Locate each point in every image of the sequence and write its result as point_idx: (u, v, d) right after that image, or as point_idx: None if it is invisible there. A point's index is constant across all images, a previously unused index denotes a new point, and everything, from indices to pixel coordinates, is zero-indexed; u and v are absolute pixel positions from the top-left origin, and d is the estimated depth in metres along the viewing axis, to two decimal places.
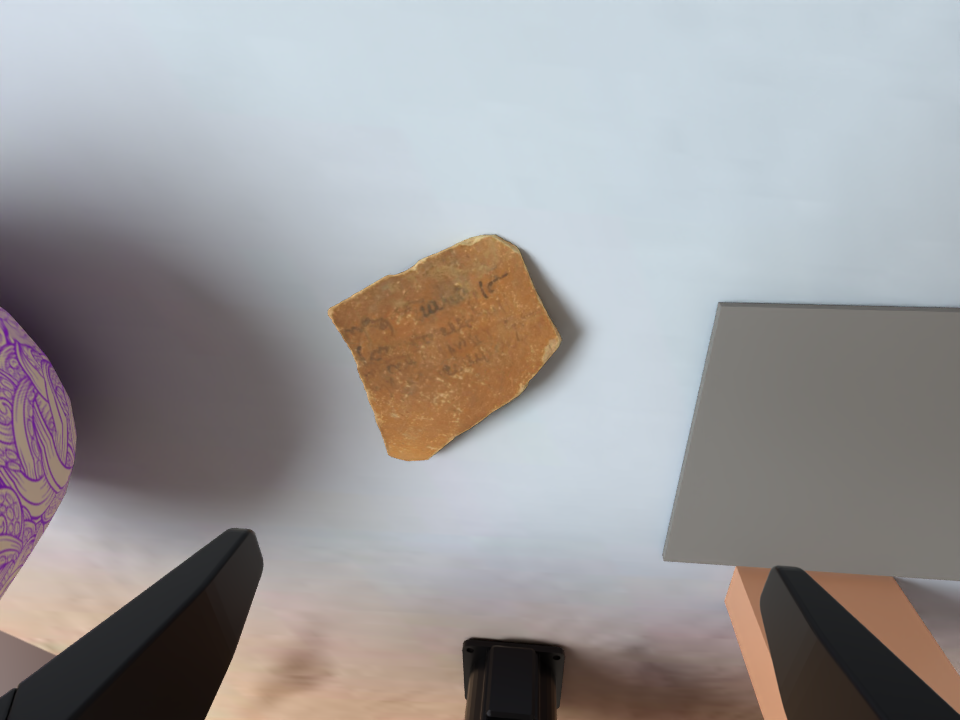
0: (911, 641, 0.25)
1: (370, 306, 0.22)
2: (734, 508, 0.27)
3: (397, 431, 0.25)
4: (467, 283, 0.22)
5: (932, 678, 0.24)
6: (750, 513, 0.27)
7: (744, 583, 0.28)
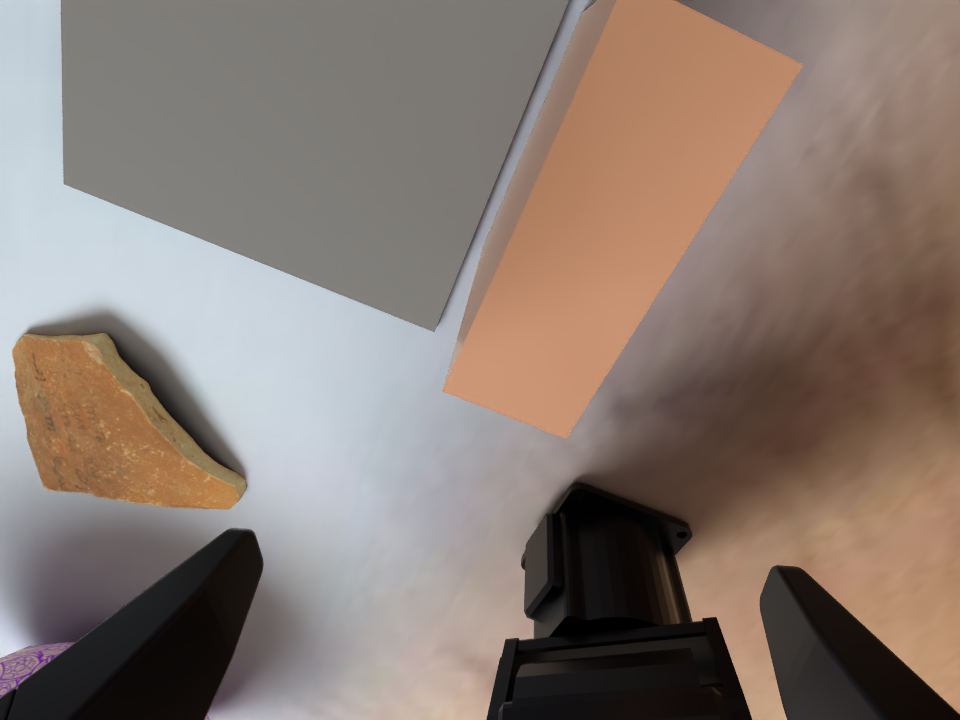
0: (570, 55, 0.14)
1: (44, 461, 0.26)
2: (355, 229, 0.20)
3: (176, 496, 0.27)
4: (36, 387, 0.25)
5: (570, 61, 0.12)
6: (369, 212, 0.20)
7: None
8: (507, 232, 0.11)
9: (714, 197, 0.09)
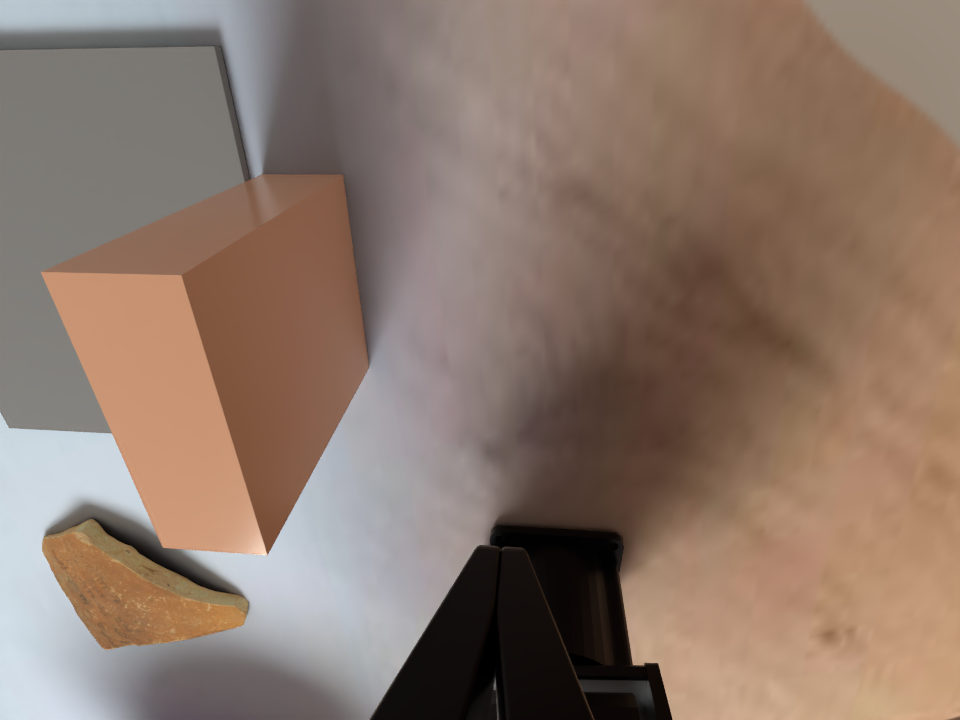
0: None
1: (94, 628, 0.32)
2: None
3: (193, 628, 0.32)
4: (64, 574, 0.31)
5: None
6: None
7: None
8: None
9: (207, 371, 0.12)
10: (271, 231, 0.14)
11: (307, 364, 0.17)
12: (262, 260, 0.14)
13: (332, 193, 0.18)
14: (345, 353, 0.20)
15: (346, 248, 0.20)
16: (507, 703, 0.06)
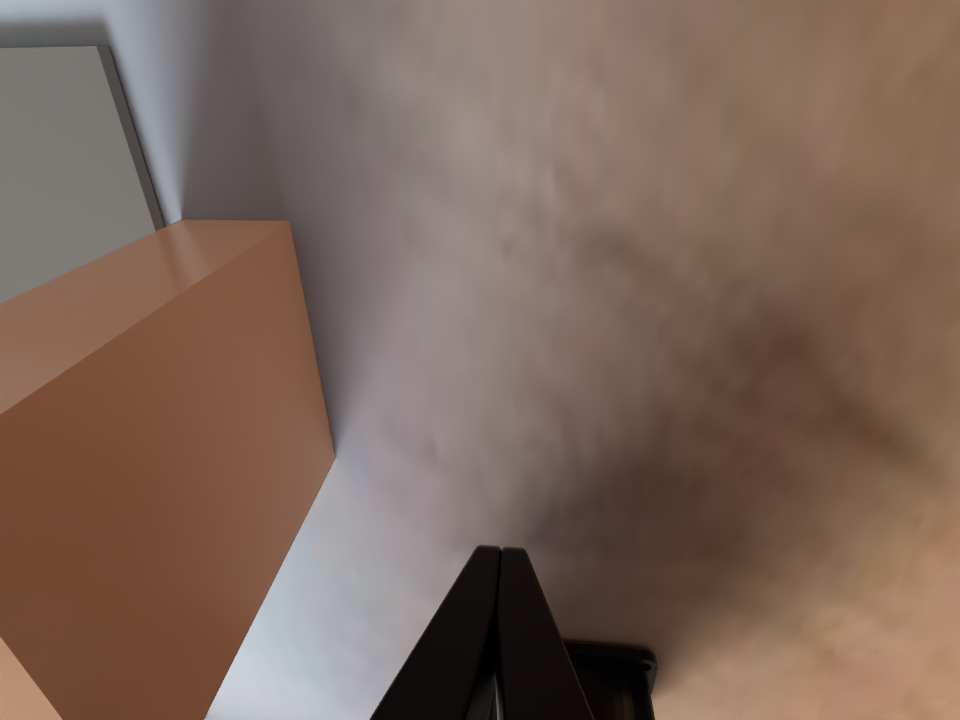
0: None
1: None
2: None
3: None
4: None
5: None
6: None
7: None
8: None
9: None
10: (146, 336, 0.09)
11: (228, 503, 0.12)
12: (125, 387, 0.09)
13: (270, 250, 0.13)
14: (296, 458, 0.15)
15: (296, 317, 0.15)
16: (507, 703, 0.06)
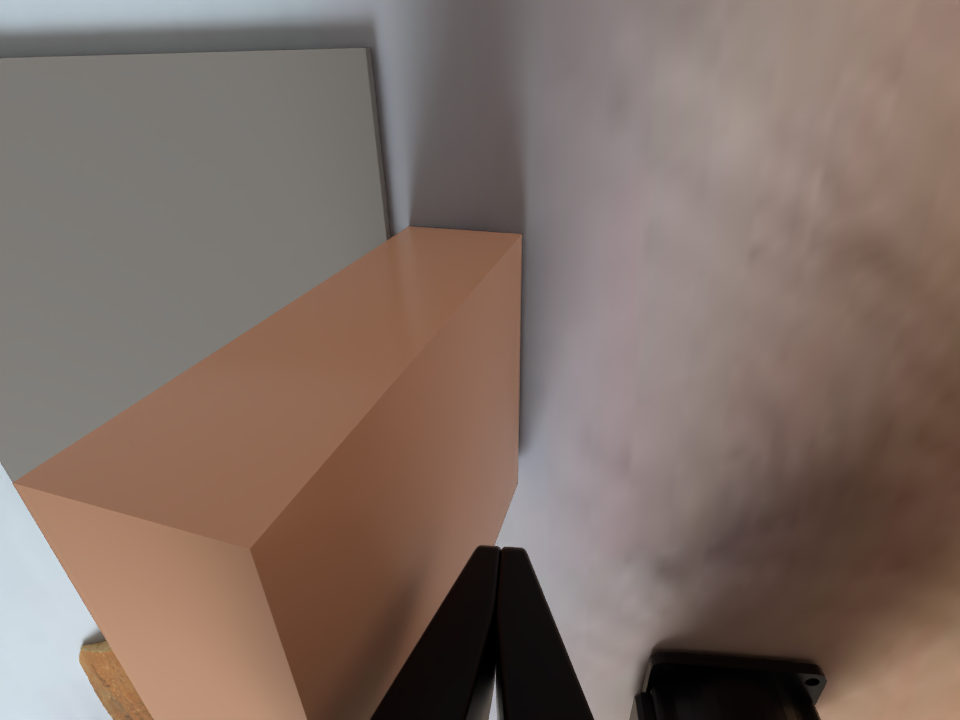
0: None
1: None
2: None
3: None
4: (107, 691, 0.25)
5: None
6: None
7: None
8: None
9: (290, 685, 0.06)
10: (425, 364, 0.08)
11: (451, 538, 0.11)
12: (406, 420, 0.08)
13: (507, 267, 0.12)
14: (496, 485, 0.14)
15: (513, 337, 0.14)
16: (507, 703, 0.06)
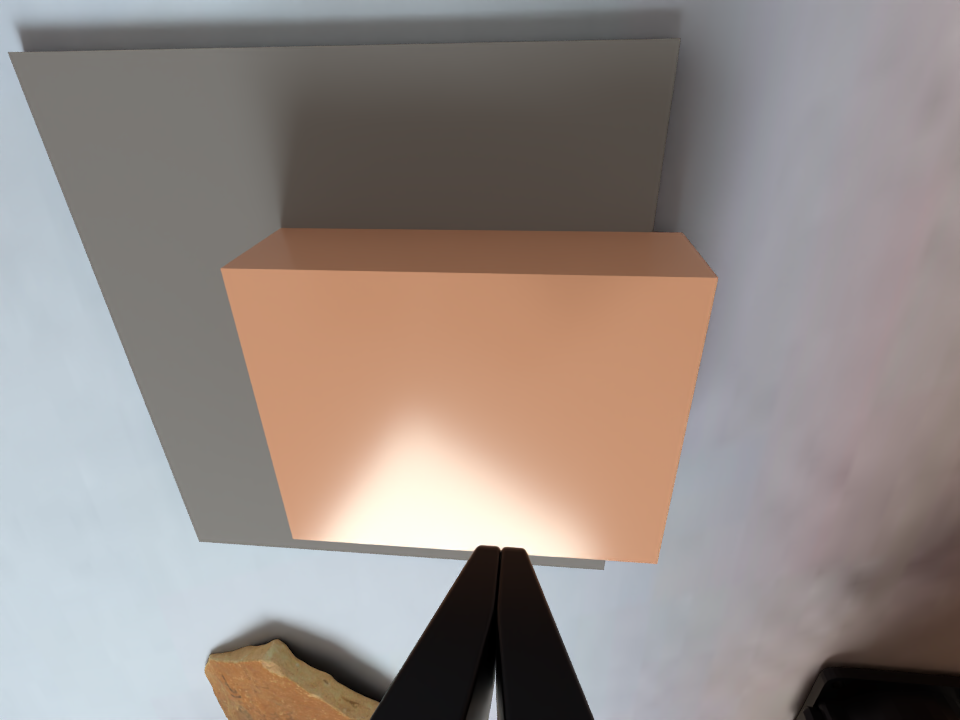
0: None
1: None
2: None
3: None
4: (235, 702, 0.25)
5: None
6: None
7: None
8: None
9: (246, 358, 0.12)
10: (407, 286, 0.11)
11: (445, 453, 0.13)
12: (372, 307, 0.11)
13: (644, 294, 0.11)
14: (571, 503, 0.13)
15: (660, 386, 0.12)
16: (507, 703, 0.06)
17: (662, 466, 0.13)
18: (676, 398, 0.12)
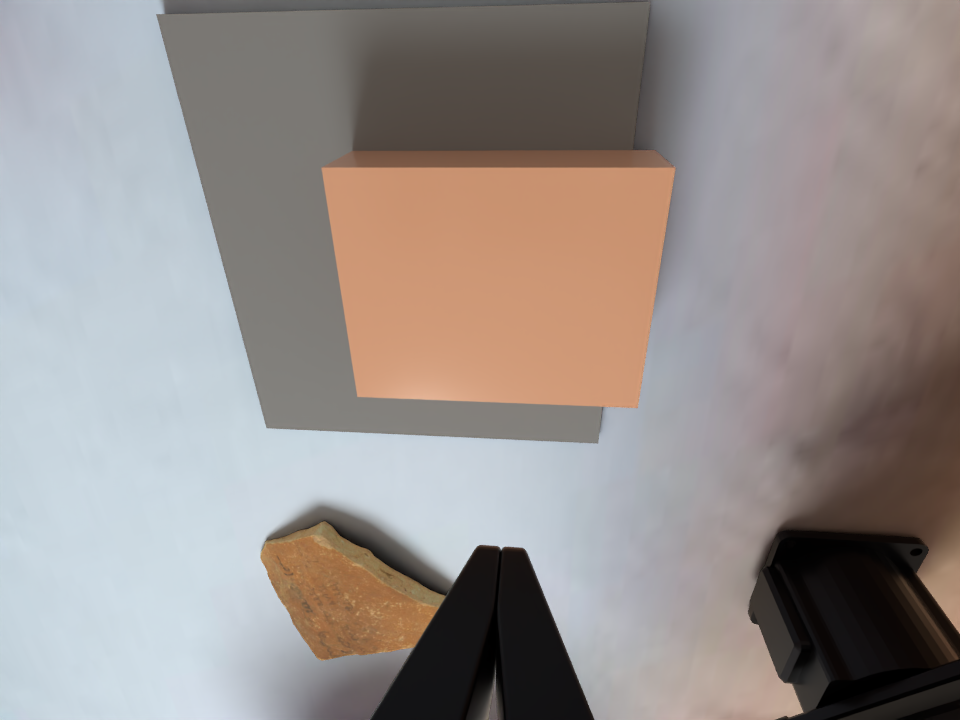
0: None
1: (312, 638, 0.30)
2: None
3: None
4: (287, 581, 0.29)
5: None
6: None
7: None
8: None
9: (333, 240, 0.17)
10: (456, 178, 0.15)
11: (478, 316, 0.17)
12: (430, 196, 0.16)
13: (624, 181, 0.15)
14: (572, 356, 0.18)
15: (637, 254, 0.16)
16: (507, 703, 0.06)
17: (640, 321, 0.17)
18: (648, 264, 0.16)
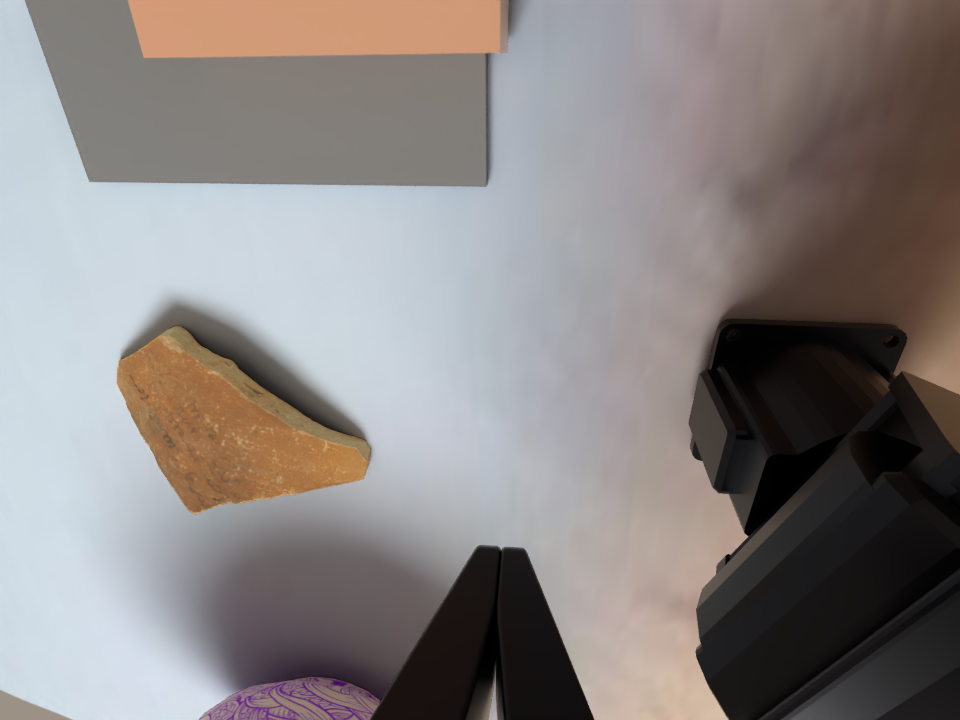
0: None
1: (180, 484, 0.26)
2: (359, 97, 0.18)
3: (305, 477, 0.25)
4: (145, 408, 0.25)
5: None
6: (366, 68, 0.17)
7: None
8: None
9: None
10: None
11: None
12: None
13: None
14: None
15: None
16: (507, 703, 0.06)
17: None
18: None
